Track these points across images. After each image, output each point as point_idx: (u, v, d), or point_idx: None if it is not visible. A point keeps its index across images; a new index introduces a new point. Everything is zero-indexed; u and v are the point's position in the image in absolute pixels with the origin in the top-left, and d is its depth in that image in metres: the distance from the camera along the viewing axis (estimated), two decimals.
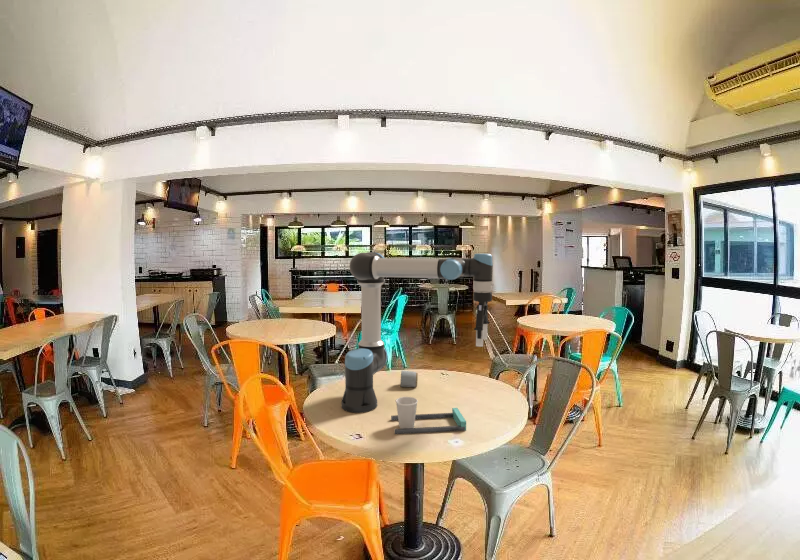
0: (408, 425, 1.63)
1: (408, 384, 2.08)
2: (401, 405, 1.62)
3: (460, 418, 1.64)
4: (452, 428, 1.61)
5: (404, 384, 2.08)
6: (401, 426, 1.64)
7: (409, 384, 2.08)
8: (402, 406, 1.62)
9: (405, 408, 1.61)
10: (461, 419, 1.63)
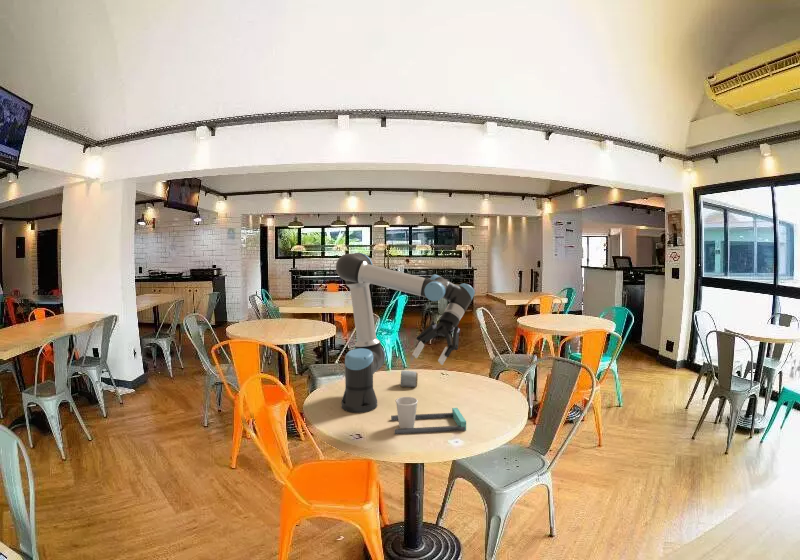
0: (408, 425, 1.63)
1: (408, 384, 2.08)
2: (401, 405, 1.62)
3: (460, 418, 1.64)
4: (452, 428, 1.61)
5: (404, 384, 2.08)
6: (401, 426, 1.64)
7: (409, 384, 2.08)
8: (402, 406, 1.62)
9: (405, 408, 1.61)
10: (461, 419, 1.63)
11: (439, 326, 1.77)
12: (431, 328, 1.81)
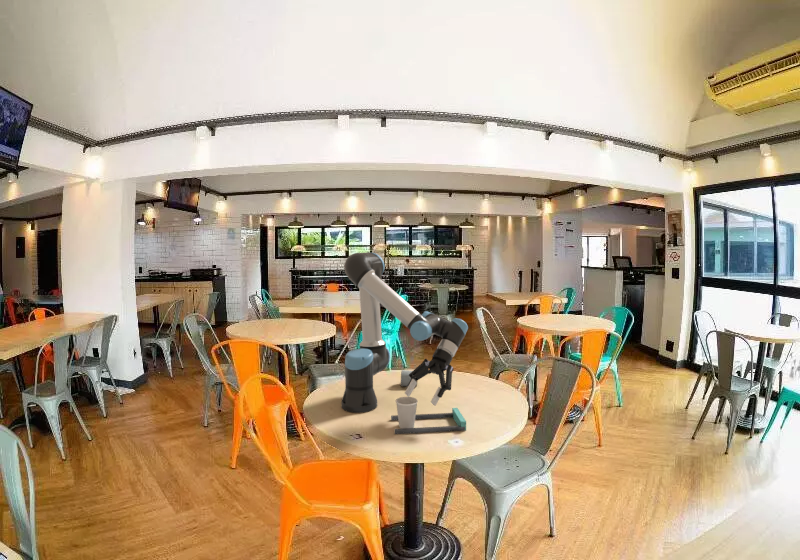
0: (408, 425, 1.63)
1: (408, 383, 2.09)
2: (401, 405, 1.62)
3: (460, 418, 1.64)
4: (452, 428, 1.61)
5: (404, 383, 2.09)
6: (401, 426, 1.64)
7: None
8: (402, 406, 1.62)
9: (405, 408, 1.61)
10: (461, 419, 1.63)
11: (432, 364, 1.74)
12: (424, 365, 1.77)
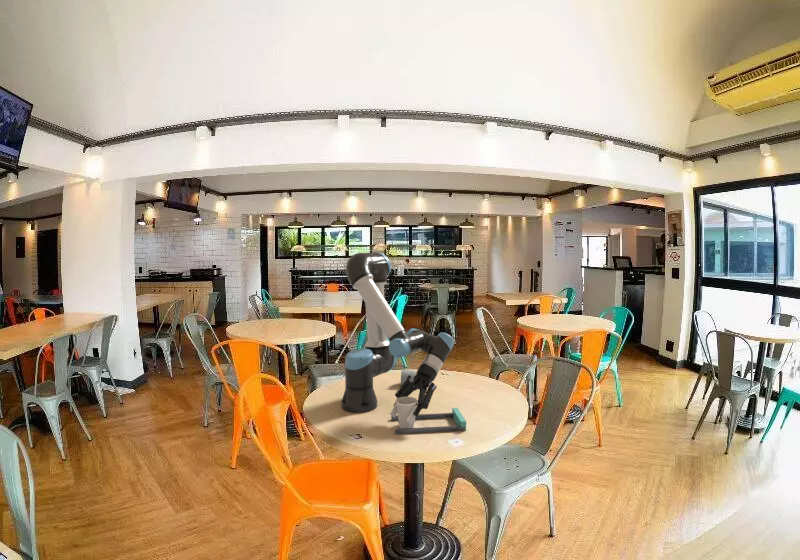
0: (408, 425, 1.63)
1: None
2: (401, 405, 1.62)
3: (460, 418, 1.64)
4: (452, 428, 1.61)
5: None
6: (401, 425, 1.64)
7: None
8: (402, 406, 1.62)
9: (405, 408, 1.61)
10: (461, 419, 1.63)
11: (416, 379, 1.70)
12: (408, 382, 1.73)
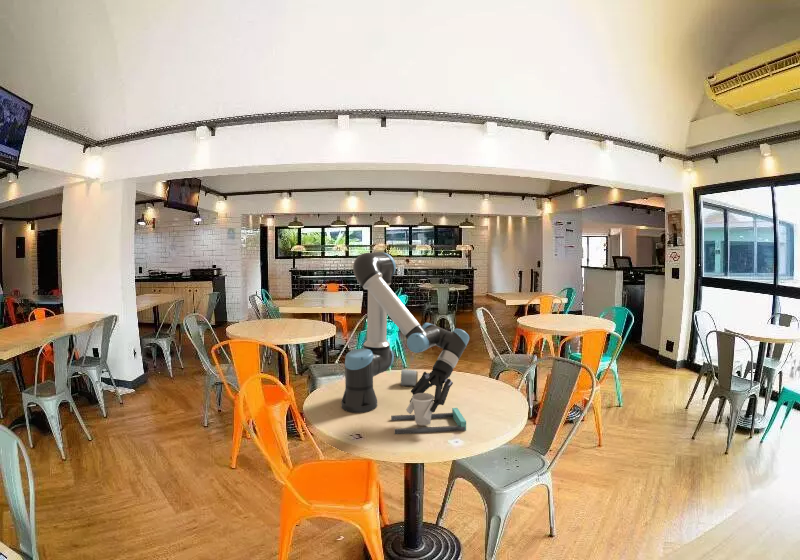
0: (425, 421, 1.63)
1: (408, 383, 2.10)
2: (418, 401, 1.62)
3: (460, 418, 1.64)
4: (452, 428, 1.61)
5: (404, 383, 2.10)
6: (417, 422, 1.64)
7: (409, 383, 2.10)
8: (418, 402, 1.62)
9: (422, 404, 1.61)
10: (461, 419, 1.63)
11: (432, 375, 1.70)
12: (424, 378, 1.73)
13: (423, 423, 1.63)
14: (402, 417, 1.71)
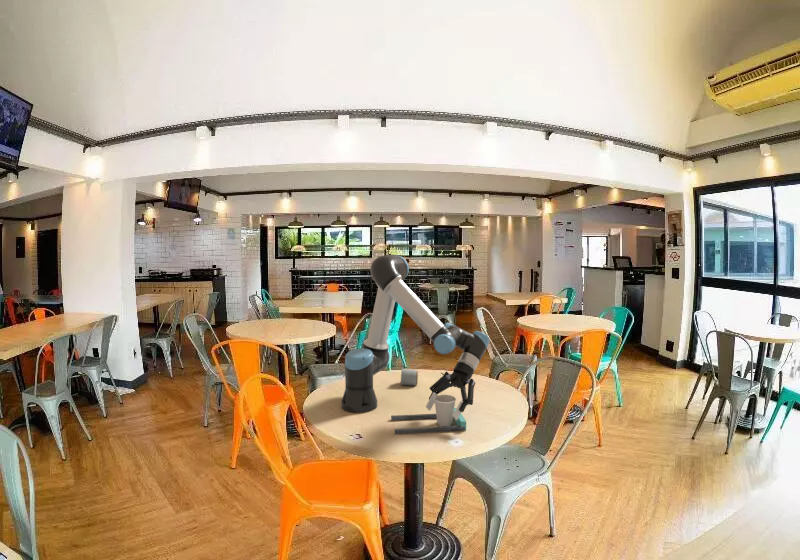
0: (447, 423, 1.65)
1: (408, 382, 2.10)
2: (440, 403, 1.64)
3: (460, 418, 1.64)
4: (452, 428, 1.61)
5: (404, 382, 2.11)
6: (439, 423, 1.66)
7: (409, 382, 2.10)
8: (441, 404, 1.64)
9: (444, 406, 1.64)
10: (461, 419, 1.63)
11: (453, 377, 1.72)
12: (445, 378, 1.76)
13: (445, 424, 1.65)
14: (402, 417, 1.71)
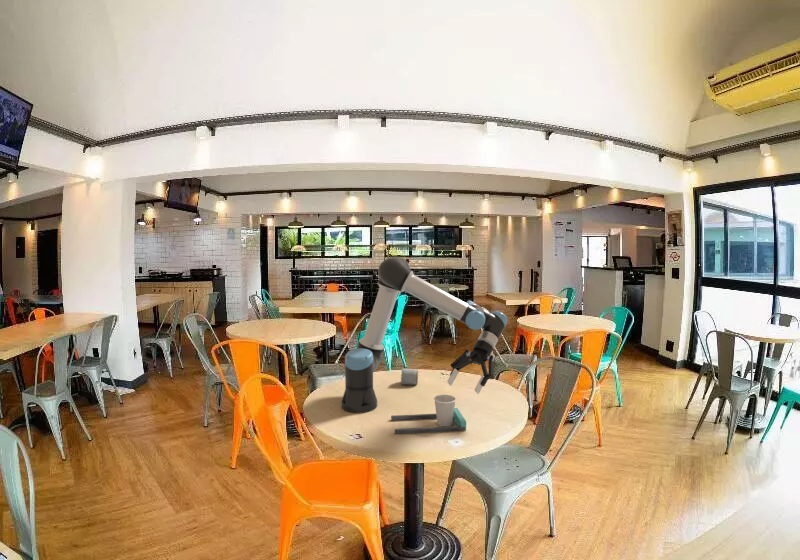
0: (447, 423, 1.65)
1: (408, 382, 2.11)
2: (440, 403, 1.64)
3: (460, 418, 1.64)
4: (452, 428, 1.61)
5: (405, 382, 2.11)
6: (439, 423, 1.66)
7: (409, 382, 2.11)
8: (441, 404, 1.64)
9: (444, 406, 1.64)
10: (461, 419, 1.63)
11: (473, 354, 1.80)
12: (465, 355, 1.84)
13: (445, 424, 1.65)
14: (402, 417, 1.71)
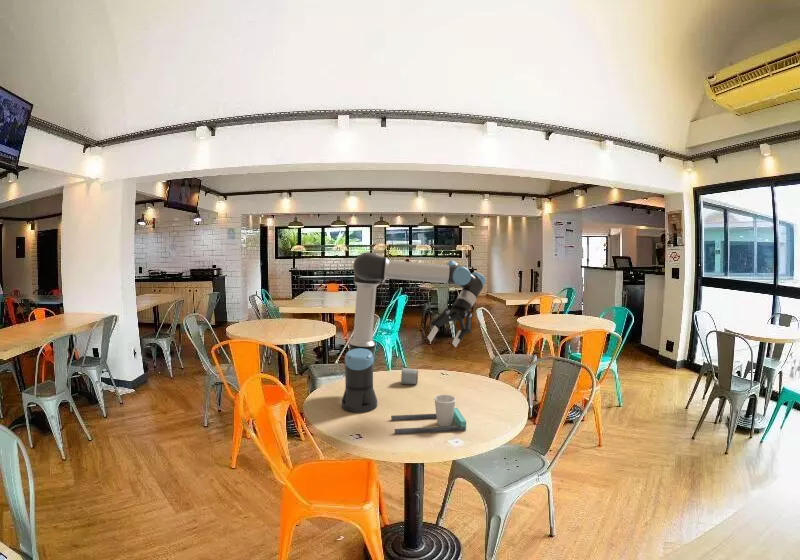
0: (447, 423, 1.65)
1: (409, 381, 2.12)
2: (440, 403, 1.64)
3: (460, 418, 1.64)
4: (452, 428, 1.61)
5: (405, 381, 2.12)
6: (439, 423, 1.66)
7: (410, 381, 2.12)
8: (441, 404, 1.64)
9: (444, 406, 1.64)
10: (461, 419, 1.63)
11: (452, 312, 1.89)
12: (444, 314, 1.92)
13: (445, 424, 1.65)
14: (402, 417, 1.71)
